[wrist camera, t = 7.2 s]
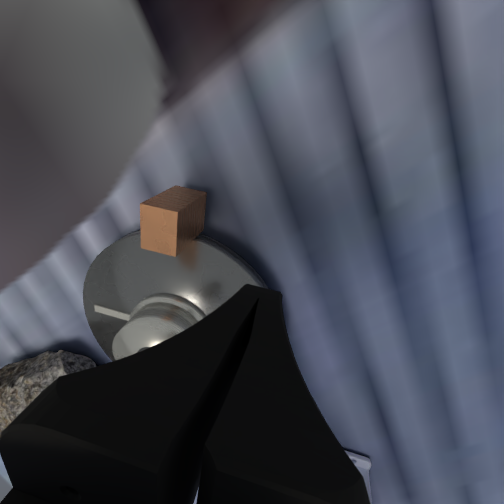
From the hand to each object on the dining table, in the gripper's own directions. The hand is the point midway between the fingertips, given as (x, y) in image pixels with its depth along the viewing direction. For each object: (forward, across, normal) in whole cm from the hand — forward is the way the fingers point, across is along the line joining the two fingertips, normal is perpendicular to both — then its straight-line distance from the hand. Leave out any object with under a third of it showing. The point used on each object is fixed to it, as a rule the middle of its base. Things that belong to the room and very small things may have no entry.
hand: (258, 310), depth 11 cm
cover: (+7, +6, +9) cm, 13 cm away
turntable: (+8, +6, +8) cm, 13 cm away
